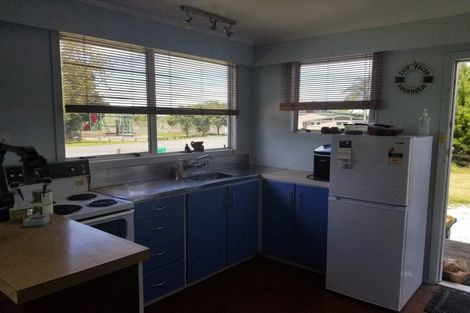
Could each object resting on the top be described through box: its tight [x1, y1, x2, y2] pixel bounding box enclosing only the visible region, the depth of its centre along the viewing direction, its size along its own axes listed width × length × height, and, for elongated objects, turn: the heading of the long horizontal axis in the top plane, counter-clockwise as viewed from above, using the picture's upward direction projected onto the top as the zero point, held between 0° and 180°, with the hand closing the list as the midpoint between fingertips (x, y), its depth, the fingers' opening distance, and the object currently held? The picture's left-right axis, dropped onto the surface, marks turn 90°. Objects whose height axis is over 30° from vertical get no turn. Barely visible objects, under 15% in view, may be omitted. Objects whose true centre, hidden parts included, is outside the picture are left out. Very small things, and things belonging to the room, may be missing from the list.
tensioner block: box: [21, 210, 40, 223], centre depth 190 cm, size 9×6×4 cm, turn 12°
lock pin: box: [26, 208, 33, 216], centre depth 188 cm, size 2×2×6 cm
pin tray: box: [22, 215, 51, 228], centre depth 182 cm, size 10×10×3 cm
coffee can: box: [31, 188, 54, 216], centre depth 202 cm, size 10×10×14 cm
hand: (33, 199), depth 180 cm, fingers open, 9 cm apart
